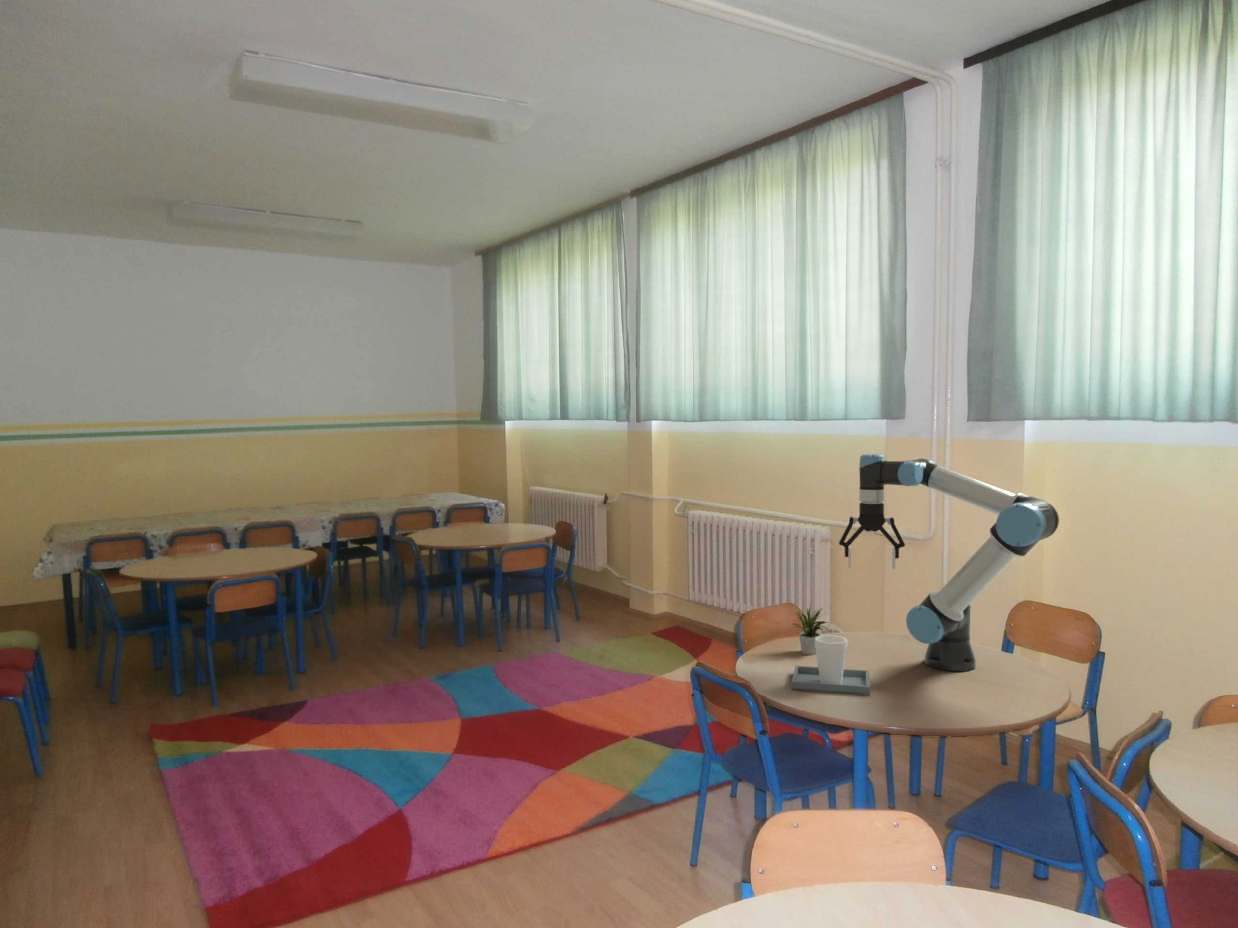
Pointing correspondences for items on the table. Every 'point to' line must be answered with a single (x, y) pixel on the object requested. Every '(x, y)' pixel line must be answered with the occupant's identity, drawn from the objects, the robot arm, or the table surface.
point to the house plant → (809, 631)
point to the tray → (851, 683)
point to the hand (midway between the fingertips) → (871, 567)
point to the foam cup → (831, 657)
